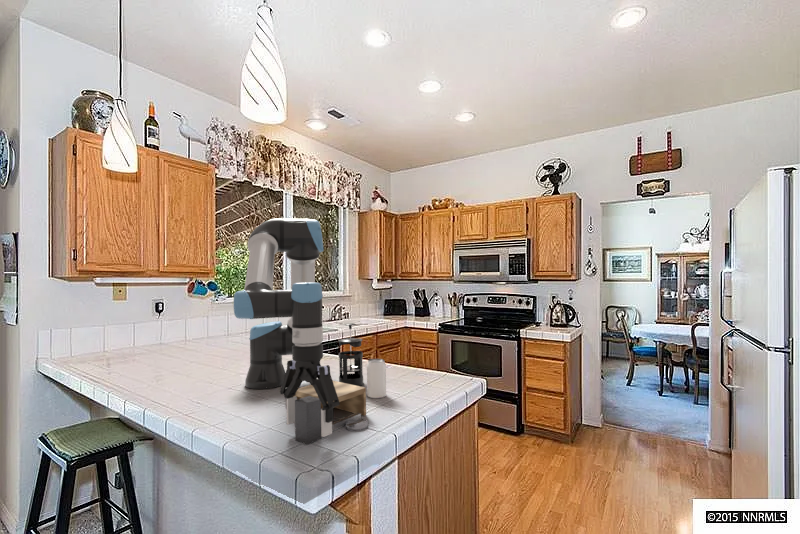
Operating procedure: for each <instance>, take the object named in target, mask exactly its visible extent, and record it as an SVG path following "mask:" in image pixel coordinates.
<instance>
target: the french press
mask: <svg viewBox="0 0 800 534" xmlns="http://www.w3.org/2000/svg"><path fill="white" fill-rule="evenodd" d="M344 326H348V329H349V337H346V338H342V339H338V343H339V347H341V346H344V345H349V350H346V351H340V352H338V358H339V360H338V362H339V365H338V366H339V376H338V382H342V383H347V384H351V385H356V386H360V387H364V386H365V385H364V384H365V383H364V375H363V372H364V371H363V356H364V355H363V354H364V353H363V351H361V350H352V347H353V348H359V347H362V342H363V339H362V338H357V337H356V338H355V337H352V326H356V323H349V322H348V323H345V324H344ZM348 360H350V361H349V362H350V364H349V365H348ZM352 360H353V361H354V362H353V363H354V365H352Z"/></svg>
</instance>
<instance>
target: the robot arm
mask: <svg viewBox="0 0 800 534" xmlns="http://www.w3.org/2000/svg"><path fill="white" fill-rule="evenodd" d="M323 242H324V241H323V233H322V228H321V223H320V221H318V220H317V219H310V218H271V219H269V220H265V221H264V222H262V223H260V224H259V225H257V226H256V228H255V229H253V230H252V232H250V235H249V237H248V241H247V249H248V252H249V256H248V261H247V262H248V264H247V269H246V275H245V283H244V289H242V290H238V291H235V293H234V295H233V314H234V317H235V318H237V319H242V320H243V319H244V320H245V319H247V320H256V319H268V318H269V319H275V318H289V319H288V320H287V323H286V324H283V322H282V321H279V320H278V321H271V322H265V323H260V324H256V325H253V326H252V327H251V328H250V331H249V339H248V340H249V368H248V371H247V374H246V377H245V382H244V383H245V384H244V385H245V387H246V388H247V389H251V390H266V389H273V388H279V387H280V391H279V393H280V395H283V396H284V398H285V409H286V410H285V411H286V425H291V424H295V400H297V397H296V396H295V394H296V392H297V390H298V388H301V384H302V383H303V382H304V381H305V382H306V383H309V385H312V386H313V387H314V389H315V391H316V393H317V395H318V397H319V399H320V401H321V403H322V405H323V408H322V409H321V438H322V437H323V438H324V437H327V436H330V435H333V431H332V422H334V407H336V406H338V405H339V404H340V402H339V399H338V396H337V393H336V390H335V387H334V384H333V381H334V380H333V378H332V375H331V367H330V365H328V364H326V365H321V360H322V359H323V357H324V345H323V344H322V342H323V341H324V332H323V331H324V327H323V297H324V294H323V287H322V284H321V283H320V282H319V281H318V282H316V280H315V279H316V278H315V277H316V261H317V260H318V259H319V258H320V253H322V252H324V243H323ZM279 252H280V253H286V254H285V255H286V258H287V259H288V260H289V261H290V289H274V273H275V272H274V270H275V255H276V254H277V253H279ZM283 356H292V359H291V360H287V362H286V370H285V367H284V365H283ZM332 380H333V381H332ZM293 396H294V397H293ZM333 401H334V402H333ZM327 402H328V403H327Z"/></svg>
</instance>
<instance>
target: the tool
mask: <svg viewBox="0 0 800 534" xmlns="http://www.w3.org/2000/svg"><path fill="white" fill-rule="evenodd" d="M352 419H362V415H361V413H351V414H349V415H348V416H344V417H342V418H339V419H338V420H337V419H336V420H335V421H334V420H333V421H332V432H333V431H336V430H339V429H341V428H342V427H346V422H347V421H349V420H352ZM294 429H295V431H294V432H295V433H294V440H295V442H298V443H301V444H304V445H307V446H308V445H310V444H312V443H314V442H315V443H316V442H318V441H319V440H322V436H321V401H320V399H319V398H316V397H312V396H307V397H304V398H300V399H297V400H295V423H294Z"/></svg>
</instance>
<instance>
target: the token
mask: <svg viewBox="0 0 800 534" xmlns="http://www.w3.org/2000/svg"><path fill="white" fill-rule="evenodd" d="M368 428H369V422H368V420H366V419H364V418H361V419H352V420H349V421H347V422H346V426H345V429H346V430H348V431H352V432H359V431H363V430H364V431H365V429H368Z"/></svg>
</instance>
